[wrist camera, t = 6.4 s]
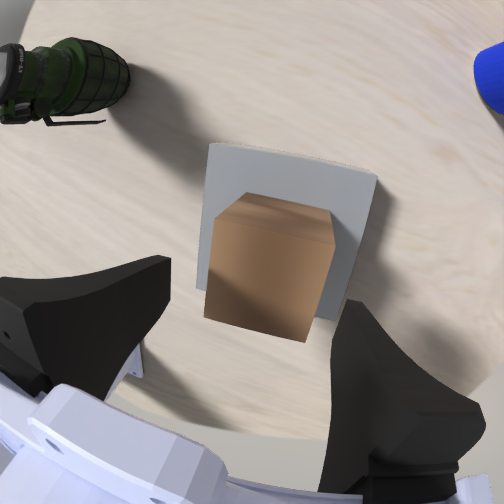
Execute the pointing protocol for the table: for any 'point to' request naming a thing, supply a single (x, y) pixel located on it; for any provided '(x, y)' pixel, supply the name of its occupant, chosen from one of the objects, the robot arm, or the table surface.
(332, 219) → the gray block
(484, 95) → the beverage can
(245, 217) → the walnut block
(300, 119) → the table surface
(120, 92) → the grenade
